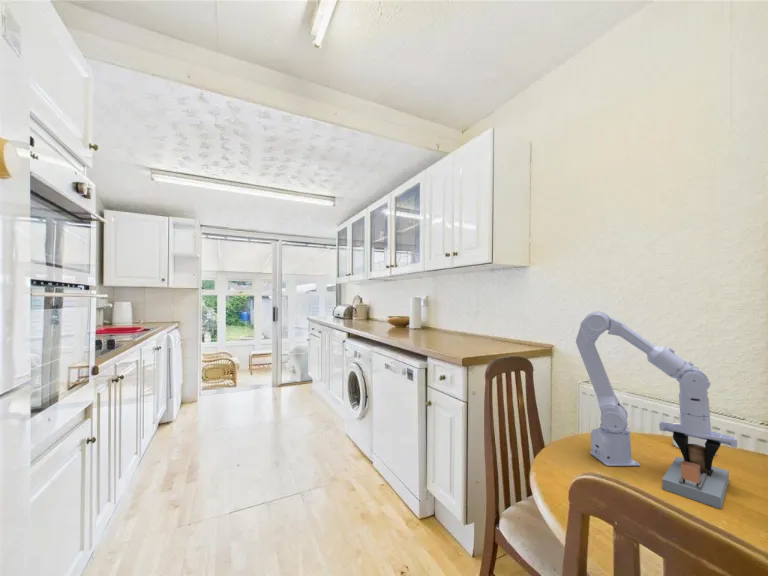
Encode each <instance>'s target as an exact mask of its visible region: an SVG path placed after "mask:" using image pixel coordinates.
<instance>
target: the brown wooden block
mask: <svg viewBox="0 0 768 576" xmlns="http://www.w3.org/2000/svg"><path fill="white" fill-rule="evenodd" d="M688 459H689V462H690V463H694V464H697V465H700V473H701V474H703V473H706V474H707V475H708V470H707V467H706V463H707V456H706V448H705V447H704V446H701V445H697V444H688Z"/></svg>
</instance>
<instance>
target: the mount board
mask: <svg viewBox="0 0 768 576" xmlns="http://www.w3.org/2000/svg"><path fill="white" fill-rule="evenodd" d="M682 461H684V458H683V457H681V456H675V458H674V460H673V461H672V463H671V465H670V466H669V468H668V469H667V471H666V473H665V474H664V476H663V477H662V479H661V480H662V490H664V491H666V490H667V492H669V491H670V493H672V492H673V494H675V495H679V496H682V497H685V498H687V499H689V500H694V501H697V502H699V503H702V504H705V505H707V504H708V505H709V506H710V505H711V507H713V508H717V509H720V510H722V508H723V504H724V502H725V501H724V500H725V498H726V494H727V489H728V487H729V482H730V474H729V470H728V469H724V468H720V467H716V466H713V465H712V469H711V470H708V475H707V474H706V473H703V474H701V481H700V483H699V484H698V485H697V487H694V486H691V485H688V484H685V479H682V470H681V463H682Z"/></svg>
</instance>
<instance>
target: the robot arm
mask: <svg viewBox="0 0 768 576" xmlns="http://www.w3.org/2000/svg"><path fill="white" fill-rule="evenodd" d="M606 331H607V335H612V336H616V337H617V336H618V337H621V338H622V339H624V340H625V341H626V342H628V343H629V344H631V345H632V346H634V347H636V348H637V349H638V350H640V351H641V352H642V353H644V354H646V357H647V361H648V362H649V363H650V364H652V365H653V366H655V367H656V368H658V370H660V371H661V372H663V373H665V375H667V376H668V377H670V378H671V379H672V378H673V379H676V381H677V382H678V383H679V385H678V386H679V393H678V403H679V411H680V420H681V425H679V424H672V423H670V422H666V421H665V422H664V421H660V422H659V427H658V428H659V431H660V432H661V431H662V432H670V433H672V432H673V435H672V440H673V439H674V440H675V442H676V443H677V445H678V447H679V448H678V447H677V448H678V449H679V450H680V452H681V455H682V458H684V461H687V462H689V459H688V436H691V437H695V438H699V439H704V440H707V441H706V442H705V448H706V456H707V463H706V467H707V470H711V469H712V466H713V461H714V458H715V454H716V452H717V453H718V450H719V449H720V447H721V445H726V446H730V447H731V448H734V449H737V448H738V438H737V437H734V436H730V435H726V434H724V433H723V434H722V433H720V432H716V431H714V432H713V430H712V427H711V426H712V425H711V411H710V399H709V397H708V395H709V392H708V389H710V387H711V382H710V380H709V378H708V376H707V375H706V374H705V373H704V372H703V371H702V370H700V369H699V367H696V366H695V364H694V363H693V362H691V361H686V360H685V359H684V358H682V357H680V356H679V355H678V354H677V353H675V352H676V351H675V350H674V349H673V348H671V347H669V348H667V347H666V346H663V345H662V346H661V345H660V346H656V345H654V344H652V343H651V342H649V340H647V339H646V338H645V337H643V336H642V335H640V334H638V333H637V332H636V331H634V330H633V329H632V328H631V327H629V326H628V325H626V324H625V323H623V322H621V321H619V320H618V319H616V318H614V317H611V316H609V315H608V314H606V313H605V312H603V311H594V312H590V313H589V314H587V315H586V316H585V318H584V319H582V320H581V323H580V324H579V329H578V333H577V336H576V338H575V343H576V347H577V350H578V351H579V354H580V357H581V359H582V362H583V364H584V367H585V370H586V372H587V374H588V375H587V376H588V378H589V379H590V381H591V385H592V388H593V390H594V393H595V395H596V397H597V403H598V408H599V410H600V413H601V414H600V424H599V425H600V426H599V427H598V428H593V429H591V431H590V448H591V450H590V451H589V453H590V454H591V455H592V456H593V457H595V458H596V459H597V460H598V461H599V462H601V463H603V464H604V465H605V466H607V467H629V466H630V467H640V466H641V464H640V463H639V462H638V461H637V460H634V459H633V458H632V441H631V439H632V438H631V429H630V428H629V427H628V418H629V417H628V411H627V409H626V408H625V407H624V406H623V405H622V404H621V403H620V400H619V398H618V397H617V395H616V394H615V391H614V388H613V386H612V383H611V381H610V379H609V377H608V373H607V371H606V369H605V366H604V364H603V361H602V359H601V357H600V354H599V351H598V349H597V346H596V342H597V340H598V339H599V337H600V336H601V335H602V334H604V333H605V332H606Z"/></svg>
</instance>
